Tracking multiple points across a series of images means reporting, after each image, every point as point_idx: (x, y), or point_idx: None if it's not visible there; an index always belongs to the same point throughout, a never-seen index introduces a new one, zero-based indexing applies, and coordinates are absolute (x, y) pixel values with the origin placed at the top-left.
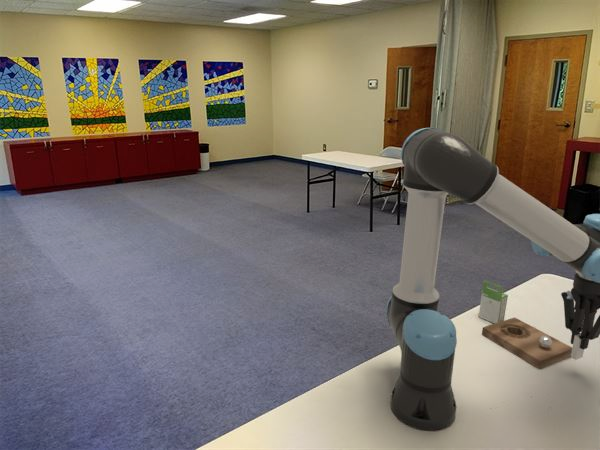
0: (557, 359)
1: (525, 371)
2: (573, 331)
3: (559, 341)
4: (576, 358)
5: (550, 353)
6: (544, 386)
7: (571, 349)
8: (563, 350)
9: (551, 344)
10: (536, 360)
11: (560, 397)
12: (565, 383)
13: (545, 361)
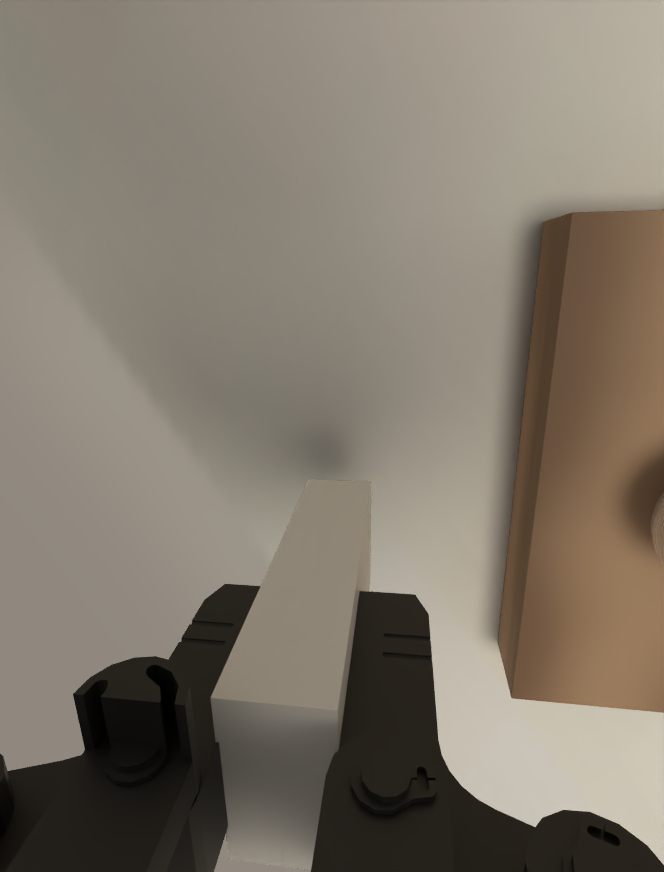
0: (521, 487)
1: (598, 36)
2: (380, 794)
3: (656, 703)
4: (305, 488)
5: (589, 453)
6: (329, 3)
7: (513, 671)
8: (543, 602)
9: (659, 544)
10: (613, 212)
11: (155, 5)
12: (280, 254)
13: (548, 315)
